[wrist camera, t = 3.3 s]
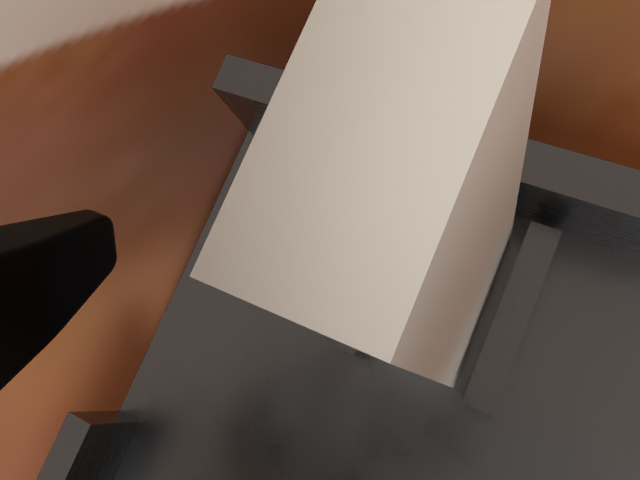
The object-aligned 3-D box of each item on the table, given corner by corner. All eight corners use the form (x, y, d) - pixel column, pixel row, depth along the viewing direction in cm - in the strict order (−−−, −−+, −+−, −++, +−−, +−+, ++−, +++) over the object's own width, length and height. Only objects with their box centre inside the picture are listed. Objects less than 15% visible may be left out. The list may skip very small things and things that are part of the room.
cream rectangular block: (452, 387, 17) (390, 363, 5) (379, 356, 17) (189, 276, 6) (510, 238, 17) (561, -62, 6) (437, 214, 18) (360, -97, 7)
